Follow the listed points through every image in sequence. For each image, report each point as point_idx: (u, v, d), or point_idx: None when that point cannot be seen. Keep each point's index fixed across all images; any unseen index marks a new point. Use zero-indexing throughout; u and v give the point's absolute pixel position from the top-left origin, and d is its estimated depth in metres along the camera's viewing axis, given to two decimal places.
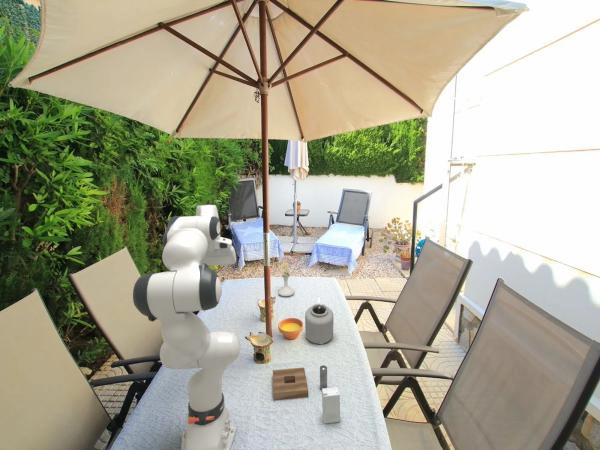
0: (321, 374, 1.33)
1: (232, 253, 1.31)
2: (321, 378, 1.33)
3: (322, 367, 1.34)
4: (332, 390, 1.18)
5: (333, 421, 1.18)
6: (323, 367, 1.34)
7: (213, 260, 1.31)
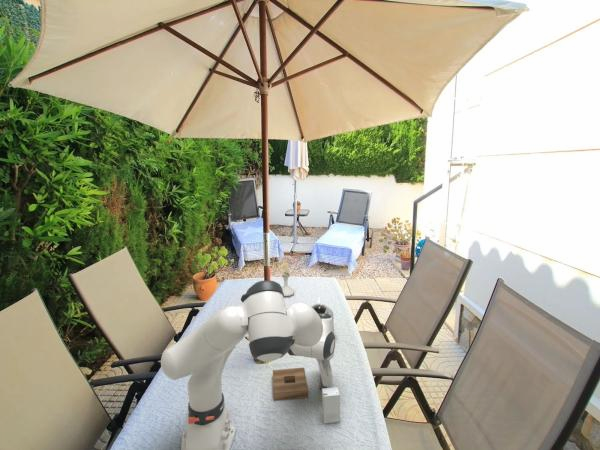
0: None
1: None
2: None
3: None
4: (332, 390, 1.18)
5: (333, 421, 1.18)
6: None
7: None
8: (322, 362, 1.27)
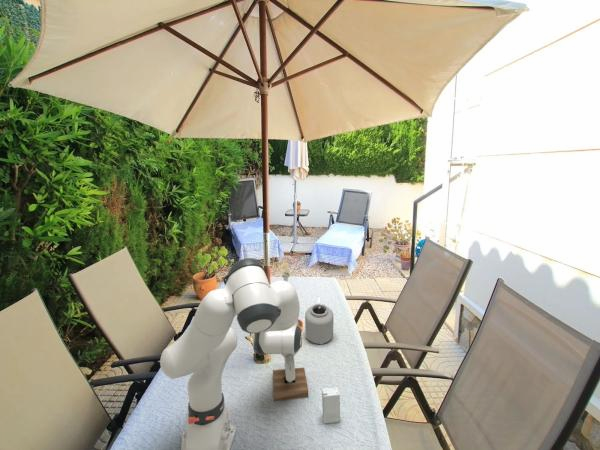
0: None
1: None
2: None
3: None
4: (332, 390, 1.18)
5: (333, 421, 1.18)
6: None
7: None
8: (286, 357, 1.28)
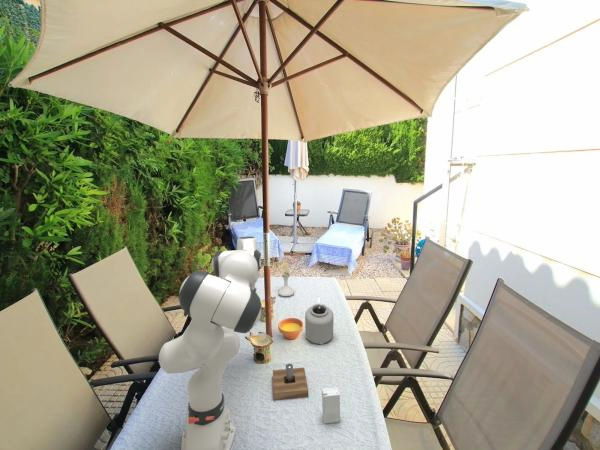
0: (287, 372, 1.34)
1: None
2: (287, 376, 1.35)
3: (288, 365, 1.35)
4: (332, 390, 1.18)
5: (333, 421, 1.18)
6: (289, 365, 1.35)
7: (254, 287, 1.38)
8: None
